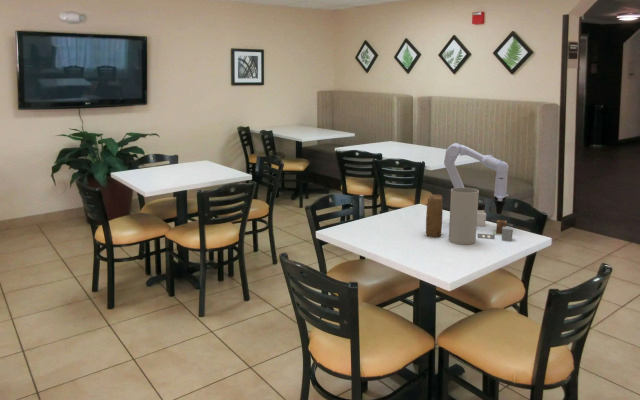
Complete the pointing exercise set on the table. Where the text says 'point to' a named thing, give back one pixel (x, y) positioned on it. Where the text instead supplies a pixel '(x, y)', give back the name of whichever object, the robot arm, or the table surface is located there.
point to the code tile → (486, 236)
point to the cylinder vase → (463, 215)
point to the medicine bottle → (481, 214)
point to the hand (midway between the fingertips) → (498, 211)
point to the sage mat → (495, 233)
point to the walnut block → (500, 226)
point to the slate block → (507, 233)
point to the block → (434, 215)
